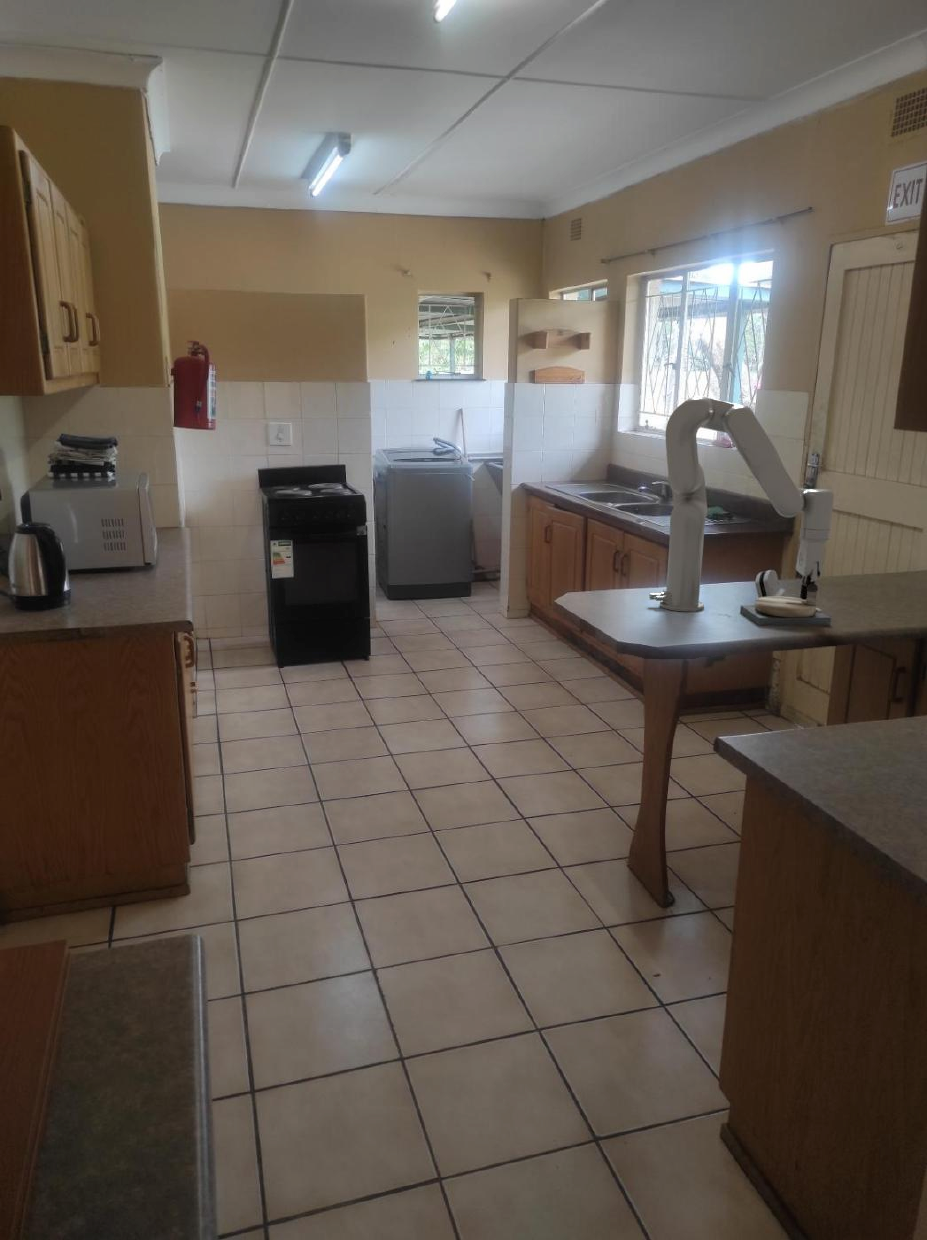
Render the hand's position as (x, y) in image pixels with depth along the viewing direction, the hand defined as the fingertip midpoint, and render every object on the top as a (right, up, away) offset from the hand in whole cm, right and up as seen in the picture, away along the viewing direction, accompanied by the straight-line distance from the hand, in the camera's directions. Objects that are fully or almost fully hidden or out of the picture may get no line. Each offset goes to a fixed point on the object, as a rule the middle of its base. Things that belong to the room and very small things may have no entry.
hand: (806, 598), depth 245 cm
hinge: (-3, 0, +21) cm, 22 cm away
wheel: (-7, -3, -1) cm, 7 cm away
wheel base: (-7, -6, -1) cm, 9 cm away
